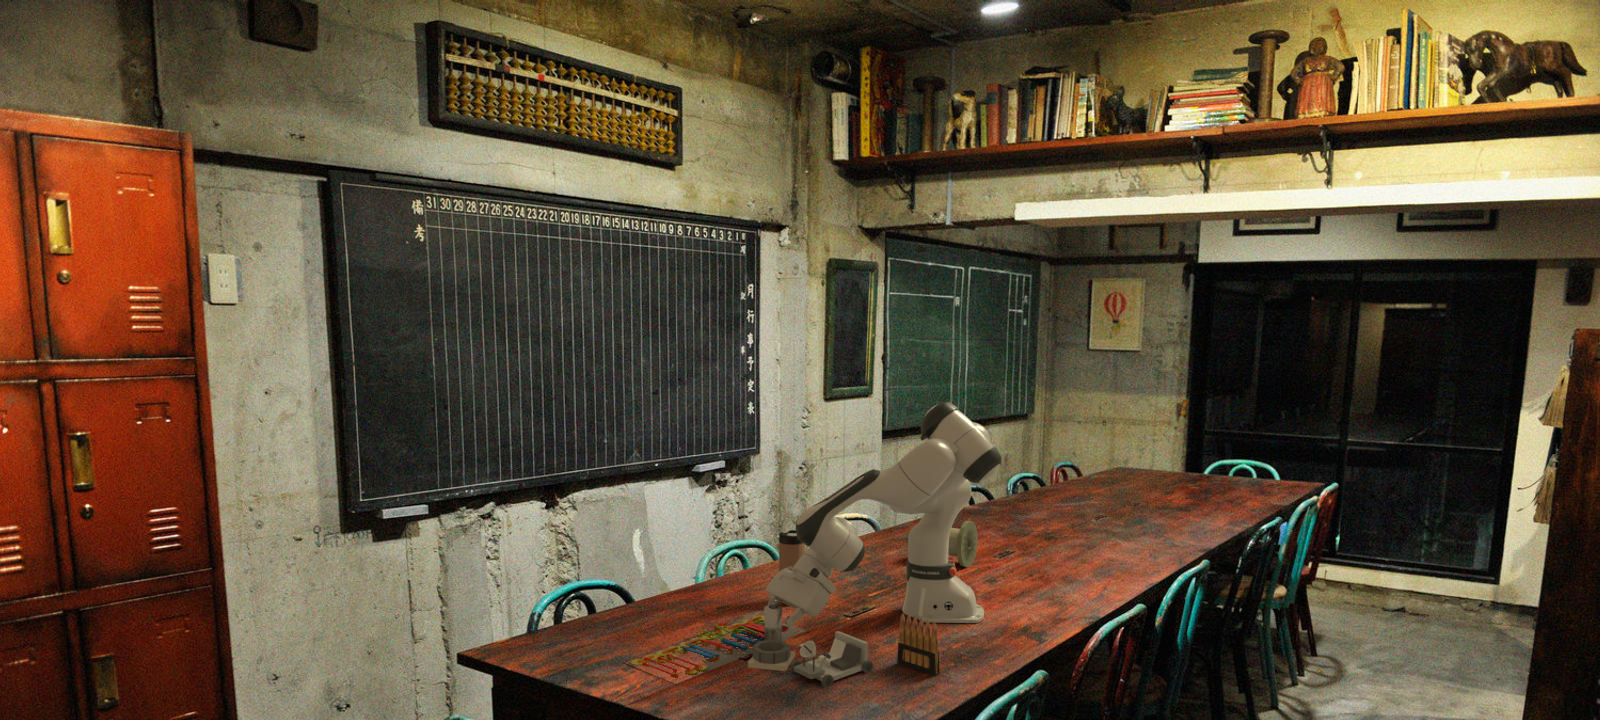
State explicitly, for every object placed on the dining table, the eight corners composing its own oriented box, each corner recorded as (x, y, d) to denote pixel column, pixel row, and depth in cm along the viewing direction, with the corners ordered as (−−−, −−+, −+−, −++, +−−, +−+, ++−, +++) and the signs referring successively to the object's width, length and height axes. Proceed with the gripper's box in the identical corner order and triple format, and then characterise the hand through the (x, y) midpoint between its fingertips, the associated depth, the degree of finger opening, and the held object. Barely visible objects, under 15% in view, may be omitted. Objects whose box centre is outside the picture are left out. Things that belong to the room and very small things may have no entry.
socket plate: (794, 656, 202) (794, 641, 202) (785, 671, 193) (785, 655, 193) (758, 653, 204) (758, 638, 204) (747, 667, 195) (747, 651, 195)
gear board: (754, 607, 232) (807, 623, 220) (754, 616, 233) (807, 633, 220) (621, 654, 198) (675, 676, 186) (621, 664, 198) (675, 687, 186)
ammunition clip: (896, 663, 198) (897, 613, 198) (901, 661, 199) (901, 611, 199) (935, 676, 191) (935, 623, 190) (939, 673, 192) (940, 621, 192)
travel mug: (802, 606, 239) (802, 536, 239) (776, 605, 241) (776, 535, 240) (807, 598, 247) (807, 530, 246) (782, 596, 248) (782, 529, 248)
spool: (977, 561, 288) (977, 517, 288) (961, 571, 275) (961, 526, 275) (932, 554, 297) (932, 512, 297) (914, 564, 284) (914, 520, 284)
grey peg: (784, 645, 210) (784, 597, 209) (779, 651, 205) (779, 602, 205) (767, 643, 211) (767, 596, 210) (762, 650, 206) (762, 601, 206)
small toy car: (814, 649, 182) (780, 634, 191) (814, 694, 182) (780, 677, 191) (873, 630, 193) (839, 617, 202) (873, 672, 194) (839, 657, 203)
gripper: (780, 557, 220) (748, 601, 215) (825, 575, 203) (791, 623, 198) (795, 571, 223) (763, 615, 218) (840, 591, 206) (807, 638, 201)
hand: (777, 619), depth 208 cm, fingers open, 8 cm apart
